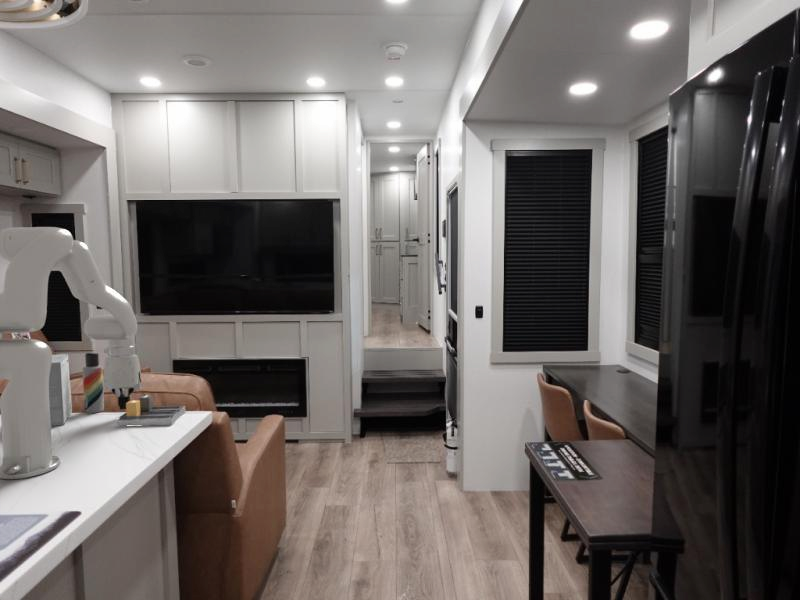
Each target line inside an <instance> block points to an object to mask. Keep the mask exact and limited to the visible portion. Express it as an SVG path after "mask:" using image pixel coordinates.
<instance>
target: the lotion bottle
mask: <svg viewBox="0 0 800 600" xmlns="http://www.w3.org/2000/svg"><path fill="white" fill-rule="evenodd" d="M84 357H85V360H84V361H85V366H83V367H82V381H83V382H82V384H83V386H82V387H83V388H82V389H83V407H84V413H86V414H96V413H101V412H103V411H104V410H105V401H104V397H105V395H104V383H103V377H104V371H103V366H102V365H100V359H99V353H92V352H87V353H85V355H84Z"/></svg>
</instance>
